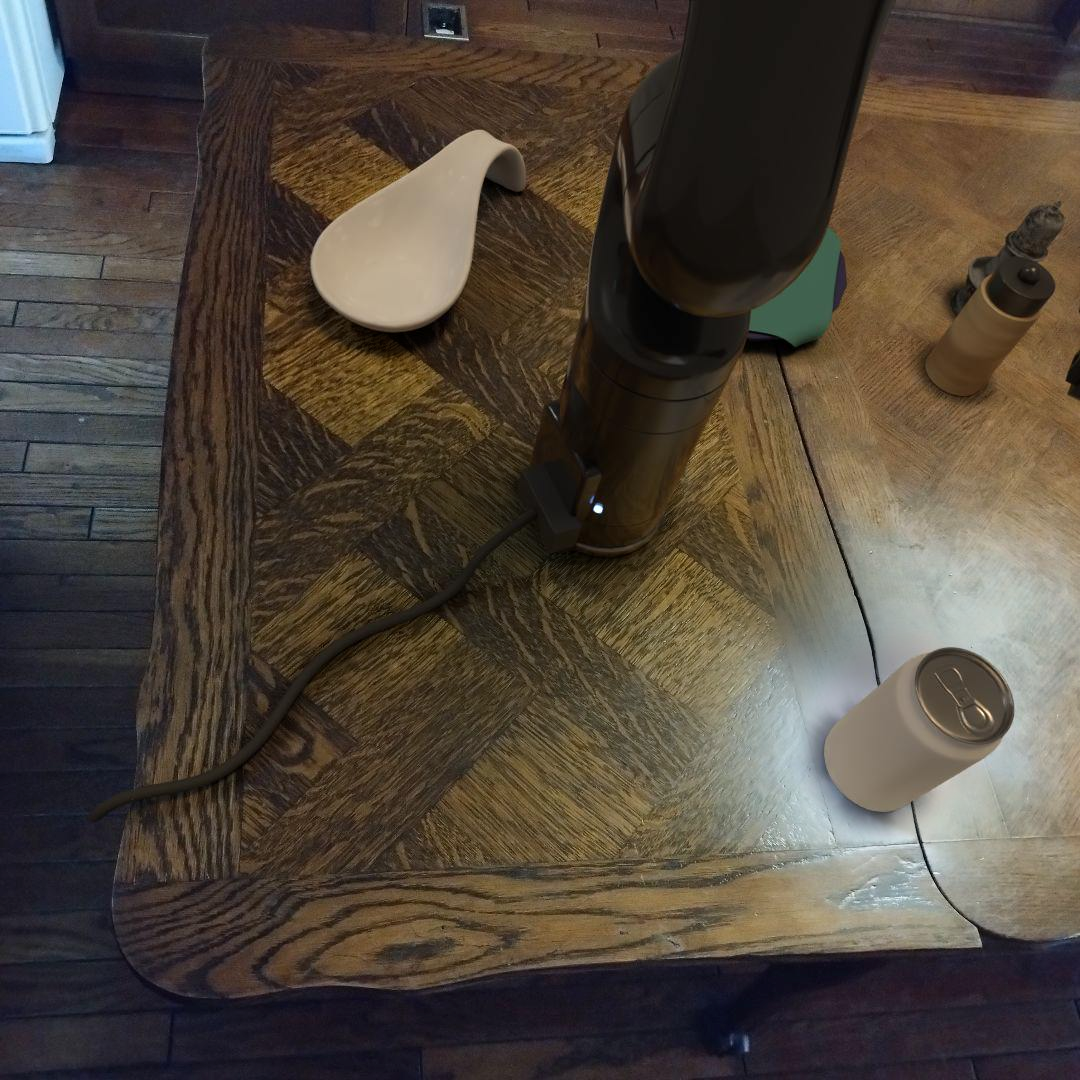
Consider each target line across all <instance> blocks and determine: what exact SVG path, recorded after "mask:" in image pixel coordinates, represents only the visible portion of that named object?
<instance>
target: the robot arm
mask: <svg viewBox="0 0 1080 1080" xmlns="http://www.w3.org/2000/svg"><path fill="white" fill-rule="evenodd" d="M896 2H897V0H688V4H687V5H688V6H687V12H686V18H685V19H686V20H685V26H684V33H683V37H682V44H681V47H680V49H678V50H675V52H673V53H671V54H670V55H668V56H667V57H665V58H664V59H663V60H662V61H660V62H659V63H658V64H657V65H655V67H654V68H653V69H652V70H651V71H650V72H649V73H648V74H647V75H646V76H645V77H644V79H642V81H641V82H640V83H639V85H638V86H637V88H636V89H635V90H634V92H633V94H632V96H631V97H630V99H629V101H628V104H627V106H626V108H625V110H624V112H623V115H622V118H621V120H620V122H619V123H620V124H619V126H618V129H617V132H616V138H615V141H614V145H613V148H612V153H611V156H610V157H611V158H610V162H609V166H608V170H607V174H606V179H605V182H604V187H603V190H602V191H603V192H602V195H601V196H602V197H601V201H600V205H599V208H598V209H599V210H598V214H597V218H596V222H595V228H594V230H593V231H594V232H593V236H592V241H591V245H590V250H589V259H588V267H587V277H586V288H585V296H584V301H583V305H582V309H581V314H580V318H579V323H578V326H577V329H576V333H575V334H576V335H575V338H574V342H573V346H572V349H571V352H570V356H569V360H568V364H567V367H566V371H565V374H564V379H563V382H562V386H561V388H560V389H561V390H560V393H559V397H558V399H554V400H551V401H548V402H545V403H544V405H543V408H542V411H541V415H540V419H539V423H538V427H537V428H538V429H537V432H536V435H535V440H534V444H533V448H532V449H533V450H532V453H531V455H530V461H529V464H528V467H526V468H523V469H521V471H520V476H519V480H518V484H517V487H516V492H517V494H518V496H519V499H520V500H521V503H522V504H523V507H524V508H525V510H526V512H524V513H523V514H522V515H520V516H518V517H517V518H516V519H514V520H513V521H512V522H510V523H509V524H507V525H505V527H503V528H502V529H501V530H500V531H498V532H497V533H496V534H494V535H493V536H492V537H491V538H490V539H488V540H487V541H486V542H485V543H484V544H483V545H481V547H480V548H479V549H478V550H477V551H476V552H475V553H474V554H473V555H472V557H470V559H469V561H468V562H467V563H466V565H465V566H464V568H463V569H462V571H461V572H460V574H459V575H458V576H457V578H455V579H454V581H452V582H451V584H449V585H448V586H446V587H445V588H444V589H442V590H441V591H440V592H439V593H436V594H435V595H433V596H432V597H430V598H429V599H426V600H424V601H423V602H421V603H418V604H416V605H414V606H412V607H409V608H407V609H405V610H402V611H399V612H396V613H394V614H391V615H388V616H386V617H383V618H380V619H378V620H375V621H372V622H370V623H367V624H365V625H363V626H360V627H359V628H358V627H357V628H356V629H354V630H352V631H349V632H348V633H346V634H345V635H343V636H341V637H340V638H338V639H336V640H335V641H334V642H333V643H331V644H330V645H328V646H326V648H324V649H323V650H322V651H321V652H320V653H318V654H317V655H316V656H315V657H314V658H312V659H311V661H310V662H309V663H308V664H307V665H305V667H304V668H303V670H302V671H300V673H299V674H298V675H297V676H296V678H295V679H294V680H293V682H292V683H291V685H290V686H289V687H288V689H287V690H286V692H285V693H284V695H283V696H282V697H281V699H280V700H279V702H278V703H277V704H276V706H275V708H274V709H273V711H272V712H271V714H270V716H268V718H267V719H266V721H265V722H264V724H263V725H262V726H261V727H260V728H259V730H258V731H257V732H256V733H255V734H254V735H253V737H252V738H251V739H250V740H249V741H248V742H247V743H245V745H244V746H243V747H241V748H240V749H239V750H238V751H237V752H236V753H235V754H233V755H232V756H230V757H229V758H228V759H226V760H225V761H224V762H222V763H220V764H219V765H217V766H215V767H213V768H211V769H209V770H207V771H204V772H201V773H198V774H195V775H193V776H189V777H186V778H181V779H175V780H171V781H165V782H158V783H153V784H147V785H142V786H138V787H134V788H135V791H134V788H130V789H126V790H124V791H121V792H118V793H116V794H114V795H112V796H110V797H109V798H107V799H105V800H103V801H102V802H101V803H99V804H98V805H96V806H95V807H94V808H93V809H92V810H91V811H90V812H89V813H88V815H87V820H88V821H89V823H97V822H99V821H101V820H102V819H103V818H104V817H105V816H107V815H108V814H110V813H111V812H113V811H114V810H116V809H118V808H120V807H123V806H126V805H128V804H131V803H134V802H139V801H143V800H147V799H153V798H159V797H164V796H165V797H166V796H170V795H177V794H180V793H185V792H188V791H193V790H197V789H200V788H202V787H205V786H208V785H211V784H213V783H214V782H217V781H219V780H220V779H222V778H225V777H227V776H228V775H229V774H231V773H232V772H234V771H235V770H237V769H238V768H240V767H241V766H242V765H243V764H245V763H246V762H247V761H248V760H249V759H250V758H251V757H252V756H253V755H255V754H256V752H258V750H259V749H260V748H261V747H262V746H263V745H265V743H266V742H267V740H268V739H269V738H270V737H271V736H272V734H273V733H274V732H275V730H276V729H277V728H278V726H280V724H281V722H282V720H283V719H284V718H285V716H286V714H287V713H288V711H290V708H291V707H292V705H293V704H294V702H295V701H296V700H297V698H298V696H299V695H300V694H301V692H302V691H303V690H304V688H305V687H306V686H307V684H308V683H309V682H310V681H311V679H312V678H313V677H314V676H315V675H316V674H317V673H318V672H319V671H320V669H322V668H323V667H324V666H325V665H326V664H327V663H328V662H329V661H330V660H332V659H333V658H334V657H336V656H337V655H338V654H339V653H341V652H343V651H344V650H345V649H346V648H348V647H350V646H352V645H353V644H355V643H357V642H360V641H362V640H364V639H365V638H367V637H370V636H372V635H374V634H377V633H379V632H382V631H384V630H385V631H386V630H388V629H390V628H393V627H395V626H398V625H401V624H403V623H407V622H408V621H411V620H414V619H416V618H418V617H421V616H422V615H425V614H427V613H429V612H430V611H433V610H434V609H436V608H438V607H439V606H441V605H443V604H444V603H446V602H447V601H448V600H450V599H452V598H453V597H454V596H456V594H457V595H458V593H459V592H460V591H461V590H462V589H463V588H464V587H465V586H466V585H467V584H468V583H469V581H470V580H471V579H472V577H473V576H474V574H475V572H476V571H477V569H479V567H480V566H481V564H482V563H483V562H484V561H485V560H486V558H487V557H488V556H490V555H491V554H492V553H493V552H494V551H495V550H496V549H497V548H498V547H500V546H501V545H502V544H503V543H505V542H506V541H508V539H509V538H511V537H513V536H514V535H515V534H517V533H518V532H519V531H521V530H522V529H523V528H525V527H526V526H527V525H530V523H532V524H533V526H534V528H535V530H536V532H537V534H538V536H539V538H540V540H541V542H542V543H543V546H544V548H545V550H546V552H547V553H548V554H549V555H551V554H555V553H560V554H564V553H567V552H572V551H577V552H579V553H582V554H585V555H588V556H593V557H605V558H608V557H609V558H611V557H619V556H623V555H627V554H630V553H633V552H635V551H637V550H639V549H640V548H642V547H644V546H645V545H647V543H648V542H649V541H651V539H653V538H654V536H655V535H656V533H657V531H658V530H659V527H660V525H661V524H662V521H663V519H664V516H665V513H666V510H667V508H668V506H669V504H670V502H671V500H672V498H673V494H674V493H675V491H676V489H677V487H678V485H679V482H680V481H681V479H682V477H683V474H684V472H685V470H686V468H687V466H688V464H689V461H690V459H691V458H692V455H693V454H694V451H695V449H696V447H697V445H698V443H699V440H700V439H701V437H702V435H703V432H704V430H705V428H706V427H707V424H708V422H709V420H710V418H711V415H712V414H713V412H714V410H715V408H716V406H717V404H718V402H719V400H720V397H721V396H722V393H723V391H724V389H725V387H726V385H727V383H728V381H729V379H730V377H731V374H732V373H733V371H734V369H735V367H736V364H737V363H738V361H739V359H740V357H741V355H742V352H743V350H744V347H745V344H746V342H747V340H746V339H747V336H748V332H749V326H750V319H751V310H753V309H755V308H757V307H759V306H762V305H764V304H765V303H767V302H768V301H770V300H771V299H773V298H774V297H776V296H777V295H779V294H780V293H781V292H783V291H784V290H785V289H786V288H787V287H788V286H789V285H791V284H792V283H793V282H794V281H795V280H796V279H797V278H798V277H799V275H800V274H801V273H802V272H803V271H804V269H805V268H806V267H807V266H808V265H809V264H810V262H811V260H812V259H813V257H814V256H815V254H816V252H817V251H818V249H819V247H820V245H821V243H822V241H823V239H824V236H825V234H826V231H827V228H828V227H829V225H830V222H831V219H832V215H833V211H834V207H835V205H836V200H837V196H838V192H839V188H840V185H841V181H842V177H843V173H844V169H845V165H846V161H847V157H848V153H849V151H850V146H851V142H852V138H853V134H854V131H855V127H856V124H857V119H858V117H859V116H858V115H859V112H860V109H861V108H860V107H861V105H862V102H863V101H862V100H863V96H864V94H865V90H866V87H867V84H868V80H869V78H870V74H871V71H872V68H873V64H874V61H875V58H876V55H877V52H878V49H879V46H880V43H881V41H882V38H883V37H882V36H883V35H884V32H885V29H886V26H887V24H888V21H889V19H890V16H891V14H892V11H893V9H894V6H895V5H896V4H895V3H896ZM1078 313H1079V314H1080V307H1079V308H1078ZM1065 382H1066V383H1068V384H1070V385H1069V388H1068V391H1067V393H1066V395H1067V396H1069V397H1071V398H1072V399H1075V400H1076V401H1078V402H1080V349H1079V350H1077V352H1076V353H1075V354H1074V355H1073V358H1072V360H1071V362H1070V365H1069V368H1068V371H1067V373H1066V377H1065ZM132 799H133V800H132Z"/></svg>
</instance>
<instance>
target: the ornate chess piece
mask: <svg viewBox="0 0 1080 1080" xmlns="http://www.w3.org/2000/svg"><path fill="white" fill-rule="evenodd" d="M1061 208H1062V201H1061V200H1057V201H1055V202H1052V205H1051V204H1046V203H1045V204H1044V203H1043V204H1039V205H1036V206H1034V207H1032V208H1031V209H1030V211H1029V212H1028V214H1027V215H1025V217H1024V219H1023V220H1022V222H1021V223H1020V225H1019V226H1018V227H1017V229H1016V230H1012V231H1010V232H1008V233H1007V234H1006V236H1005V239H1004V242H1005V244H1004V245H1003V246H1002V248H1001V249H1000V251H999V252H998V253H997V255H993V254H991V255H989V254H987V255H986V254H985V255H981V256H977V257H976V258H974V259H972V260H971V262H970V263H969V265H968V268H967V275H966V280H965V284H964V286H962V287H959V288H958V289H956V290H955V291H954V292H953V294H952V295H951V299H950V304H951V308H952V310H953V312H954V313H955V315H956V317H957V316H958V314H959V313H960V312H961V310H962V309H963V307H964V306H965V305H966V303H967V302H968V301H969V299H970V298H971V296H972V295H973V294H974V292H975V291H976V290H977V288H978V287H979V285H980V284H981V283H982V281H983V280H984V279H985V278H986V277H987V276H989V275H992V274H993V273H994V272H995V270H996V269H997V268H998V266H999V265H1000V263H1001V262H1002V261H1003V260H1005V259H1006V258H1009V257H1024V258H1028V259H1031V260H1033V261H1035V262H1037V263H1039V262H1043V261H1044V260H1046V258H1047V257H1048V255H1049V254H1048V253H1049V250H1048V248H1049V247H1050V245H1052V243H1053V242H1054V240H1056V238H1057V237H1058V235H1059V234H1060V232H1061V231H1062V230H1063V228H1064V226H1065V224H1066V223H1065V222H1066V221H1065V220H1066V219H1065V216H1064V214H1063V212H1062V211H1061V210H1060V209H1061Z"/></svg>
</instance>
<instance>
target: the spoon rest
mask: <svg viewBox="0 0 1080 1080" xmlns="http://www.w3.org/2000/svg"><path fill="white" fill-rule="evenodd" d="M485 178H486V179H488V180H490V181H491V182H494V183H496V184H498V185H500V186H502V187H504V188H506V189H508V190H510V191H513V192H517V193H518V192H523V191H524V190H525V189H526V186H527V172H526V165H525V161H524V158H523V156H522V154H521V152H520V151H519V149H518V148H517V147H516V146H514V145H513V144H511V143H506V142H504V141H502V140H500V139H497V138H496V137H494V136H493V135H491V133H489V132H488V131H487V130H484V129H475V130H471V131H469V132H467V133H464V134H462V135H461V136H458V137H457V138H455V139H454V140H453V141H452V142H450V143H449V144H448V145H446V146H445V147H444V148H442V149H441V150H440V151H439V152H437V153H436V154H435V155H433V156H432V157H431V158H430V159H428V160H427V161H425V162H423V163H422V164H421V165H419V166H417V167H416V168H415V169H413V170H411V171H409V172H408V173H407V174H405V175H403V176H402V177H399V178H398V179H397V180H395V181H393V182H391V183H389V184H388V185H386V186H385V187H383V188H381V189H379V190H378V191H376V192H374V193H373V194H371V195H370V196H368V197H366V198H365V199H363V200H361V201H359V202H358V203H356V204H354V206H352V207H350V208H349V209H348V210H346V211H345V212H343V213H342V214H341V215H339V216H338V217H336V218H335V219H334V220H333V221H332V222H331V223H329V225H327V226H326V227H325V228H324V230H323V231H322V232H321V233H320V235H319V236H318V238H317V240H316V241H315V244H314V246H313V248H312V252H311V256H310V263H309V265H310V274H311V279H312V281H313V284H314V287H315V289H316V290H317V292H318V294H319V295H320V297H321V298H322V300H324V302H325V303H326V304H327V305H328V306H329V307H330V308H332V309H333V310H334V311H335V312H337V313H338V314H340V315H341V316H343V317H344V318H345V319H347V320H349V321H351V322H352V323H354V324H356V325H359V326H361V327H364V328H367V329H370V330H374V331H378V332H385V333H402V332H411V331H414V330H417V329H420V328H424V327H426V326H428V325H430V324H431V323H433V322H435V321H436V320H438V319H440V318H441V317H442V316H444V315H445V314H446V313H447V312H448V311H449V310H450V309H451V308H452V306H454V305H455V304H456V302H457V301H458V299H459V298H460V296H461V294H462V292H463V290H464V288H465V286H466V283H467V281H468V278H469V275H470V271H471V267H472V263H473V256H474V248H475V243H476V242H475V241H476V231H477V230H476V229H477V222H478V211H479V204H480V197H481V192H482V189H483V185H484V181H485Z"/></svg>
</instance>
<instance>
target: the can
mask: <svg viewBox="0 0 1080 1080" xmlns="http://www.w3.org/2000/svg"><path fill="white" fill-rule="evenodd" d="M1014 717H1015V700H1014V696H1013V693H1012V691H1011V688H1010V686H1009V684H1008V682H1007V680H1006V678H1005V677H1004V676H1003V675H1002V673H1001V672H1000V671H999V669H997V668H996V666H995V665H993V664H992V663H991V662H990V661H989V660H987V659H986V658H985V657H983V656H982V655H980V654H978V653H976V652H973V651H971V650H968V649H965V648H961V647H954V646H953V647H952V646H949V647H948V646H947V647H940V648H937V649H934V650H933V651H930V652H923V653H922V654H918V655H916V656H914V657H912V658H911V659H909V660H908V661H906V662H905V663H904V664H903V665H901V666H900V667H899V668H898V669H897V670H895V671H894V672H893V673H891V674H890V676H888V677H887V678H886V679H885V680H884V681H882V682H881V683H880V684H878V686H877V687H875V688H874V689H873V690H872V691H871V692H869V694H867V695H866V696H865V697H864V698H863V699H862V700H860V701H859V702H858V703H857V704H856V705H854V706H853V708H851V709H850V710H849V711H848V712H847V713H845V714H844V715H843V716H842V717H841V718H839V720H838V721H837V722H836V723H835V724H834V725H833V726H832V727H831V729H830V730H829V732H828V733H827V736H826V739H825V741H824V747H823V756H824V762H825V767H826V769H827V772H828V775H829V777H830V779H831V781H832V782H833V784H834V786H835V787H836V788H837V789H838V790H839V791H840V792H841V794H842V795H844V797H846V799H848V800H849V801H851V802H852V803H854V804H856V805H857V806H859V807H861V808H863V809H866V810H869V811H873V812H880V813H881V812H882V813H888V812H893V811H896V810H899V809H901V808H903V807H904V806H906V805H909V804H910V803H911V802H914V801H915V800H916V799H917V800H918V799H919V798H921V797H922V796H924V795H925V794H927V793H929V792H931V791H932V790H934V789H936V788H938V787H939V786H941V785H942V784H944V783H946V782H948V781H949V780H951V779H953V778H954V777H956V776H957V775H960V773H962V772H964V771H966V770H968V769H969V768H970V767H972V766H974V765H975V764H977V763H979V762H980V761H982V760H984V759H985V758H986V757H988V756H989V755H991V753H993V752H994V751H995V750H996V749H997V748H998V747H999V746H1000V745H1001V742H1002V741H1003V738H1004V736H1006V734H1008V732H1009V731H1010V729H1011V728H1012V727H1011V726H1012V725H1013V721H1014Z"/></svg>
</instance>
